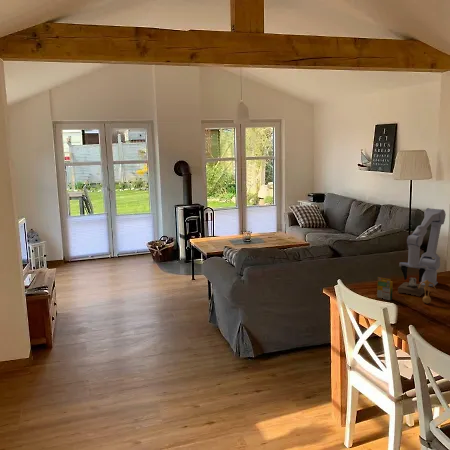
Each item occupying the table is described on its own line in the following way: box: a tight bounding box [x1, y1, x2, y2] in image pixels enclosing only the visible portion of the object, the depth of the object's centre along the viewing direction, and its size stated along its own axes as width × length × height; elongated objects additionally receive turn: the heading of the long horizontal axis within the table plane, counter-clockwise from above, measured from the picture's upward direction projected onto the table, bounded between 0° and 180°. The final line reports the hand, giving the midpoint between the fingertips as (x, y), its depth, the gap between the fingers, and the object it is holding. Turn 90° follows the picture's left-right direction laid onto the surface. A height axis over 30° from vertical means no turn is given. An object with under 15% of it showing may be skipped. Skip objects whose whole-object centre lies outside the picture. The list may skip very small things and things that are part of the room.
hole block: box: [397, 281, 426, 297], centre depth 261 cm, size 12×12×3 cm
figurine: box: [418, 280, 437, 304], centre depth 243 cm, size 8×6×12 cm
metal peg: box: [408, 277, 417, 288], centre depth 261 cm, size 3×3×7 cm
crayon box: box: [376, 276, 394, 301], centre depth 251 cm, size 7×3×12 cm, turn 48°
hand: (412, 280), depth 260 cm, fingers open, 7 cm apart
